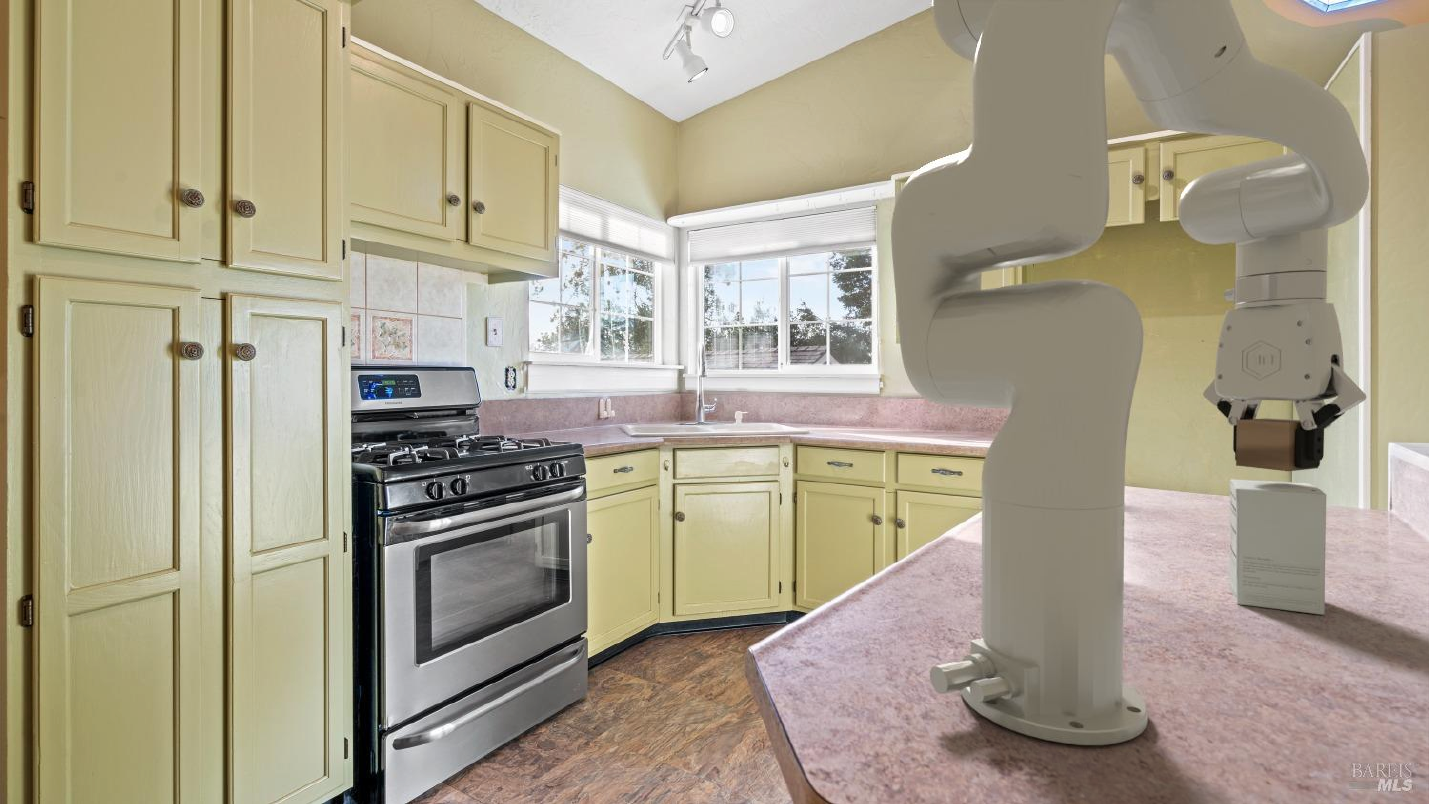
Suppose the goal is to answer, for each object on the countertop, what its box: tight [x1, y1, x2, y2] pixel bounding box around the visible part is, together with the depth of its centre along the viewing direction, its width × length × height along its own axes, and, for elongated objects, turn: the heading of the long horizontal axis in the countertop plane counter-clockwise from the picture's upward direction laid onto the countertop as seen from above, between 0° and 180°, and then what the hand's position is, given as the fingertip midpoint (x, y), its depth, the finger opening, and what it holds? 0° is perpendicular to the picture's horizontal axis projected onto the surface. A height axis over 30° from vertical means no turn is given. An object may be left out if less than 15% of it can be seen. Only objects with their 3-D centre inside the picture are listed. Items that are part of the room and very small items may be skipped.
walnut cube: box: [1235, 417, 1319, 472], centre depth 73 cm, size 5×5×5 cm
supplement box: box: [1228, 478, 1327, 616], centre depth 74 cm, size 7×7×13 cm
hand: (1276, 462), depth 73 cm, fingers closed on walnut cube, 5 cm apart
